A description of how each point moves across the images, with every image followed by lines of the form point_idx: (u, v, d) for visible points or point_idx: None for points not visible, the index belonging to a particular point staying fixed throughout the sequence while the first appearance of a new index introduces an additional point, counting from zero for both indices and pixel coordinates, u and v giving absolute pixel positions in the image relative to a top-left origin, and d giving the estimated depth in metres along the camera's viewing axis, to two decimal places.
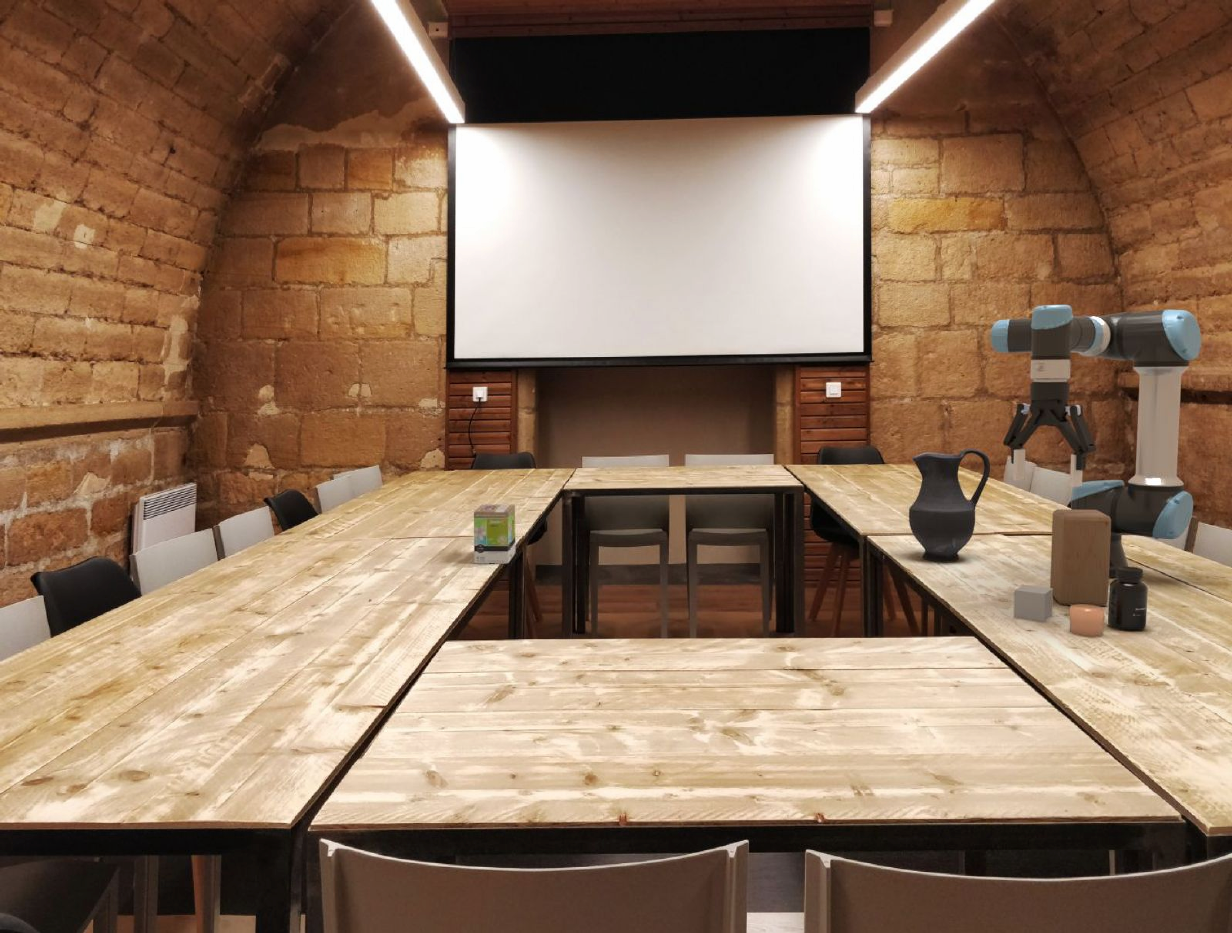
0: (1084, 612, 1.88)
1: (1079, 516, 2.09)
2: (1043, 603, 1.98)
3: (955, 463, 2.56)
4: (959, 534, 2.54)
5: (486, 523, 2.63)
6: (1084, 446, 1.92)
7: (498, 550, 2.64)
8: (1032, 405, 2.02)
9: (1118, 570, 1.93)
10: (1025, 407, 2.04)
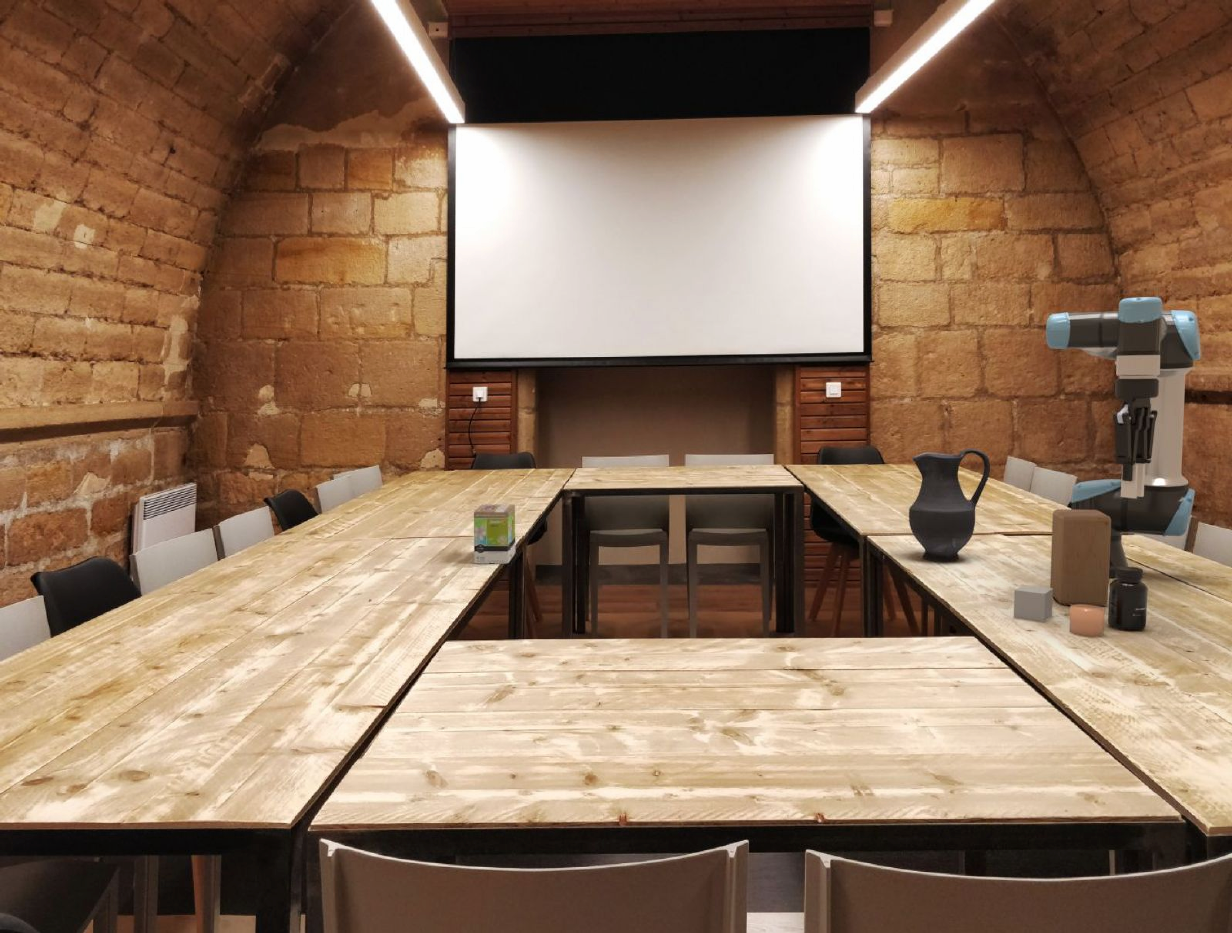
0: (1084, 612, 1.88)
1: (1079, 516, 2.09)
2: (1043, 603, 1.98)
3: (955, 463, 2.56)
4: (959, 534, 2.54)
5: (486, 523, 2.63)
6: None
7: (498, 550, 2.64)
8: None
9: (1118, 570, 1.93)
10: None
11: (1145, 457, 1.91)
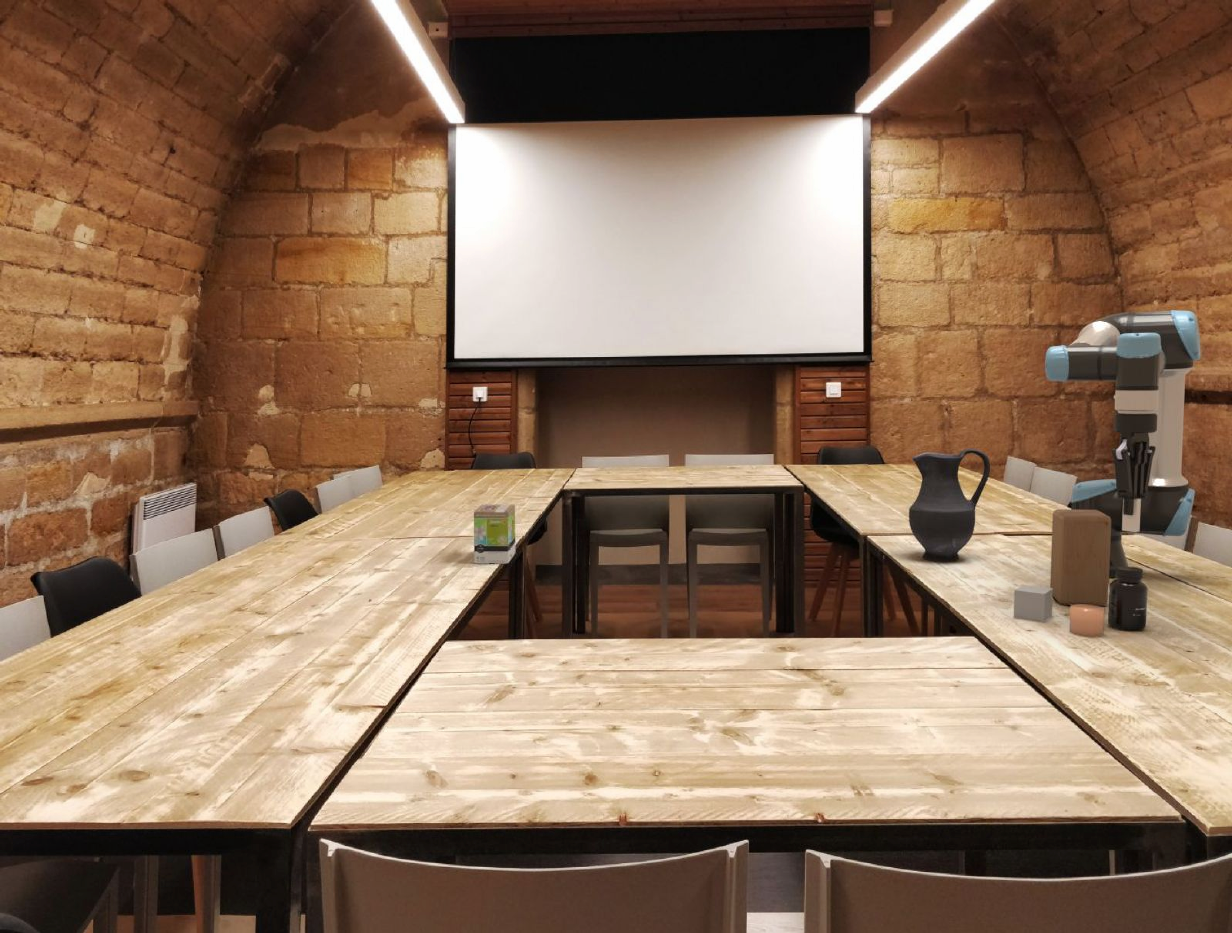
0: (1084, 612, 1.88)
1: (1079, 516, 2.09)
2: (1043, 603, 1.98)
3: (955, 463, 2.56)
4: (959, 534, 2.54)
5: (486, 523, 2.63)
6: None
7: (498, 550, 2.64)
8: None
9: (1118, 570, 1.93)
10: None
11: (1141, 492, 1.91)
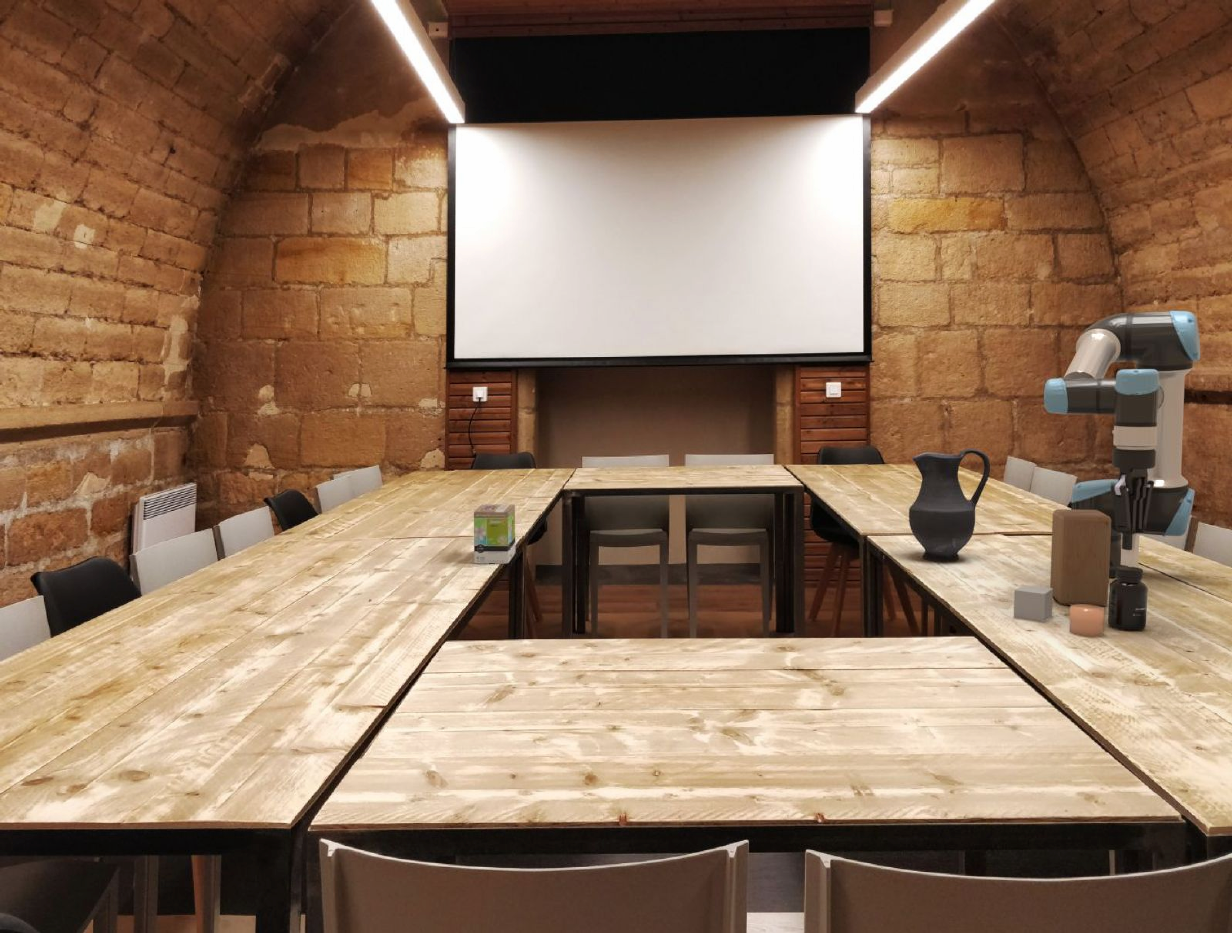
0: (1084, 612, 1.88)
1: (1079, 516, 2.09)
2: (1043, 603, 1.98)
3: (955, 463, 2.56)
4: (959, 534, 2.54)
5: (486, 523, 2.63)
6: None
7: (498, 550, 2.64)
8: None
9: (1118, 570, 1.93)
10: None
11: (1140, 527, 1.91)
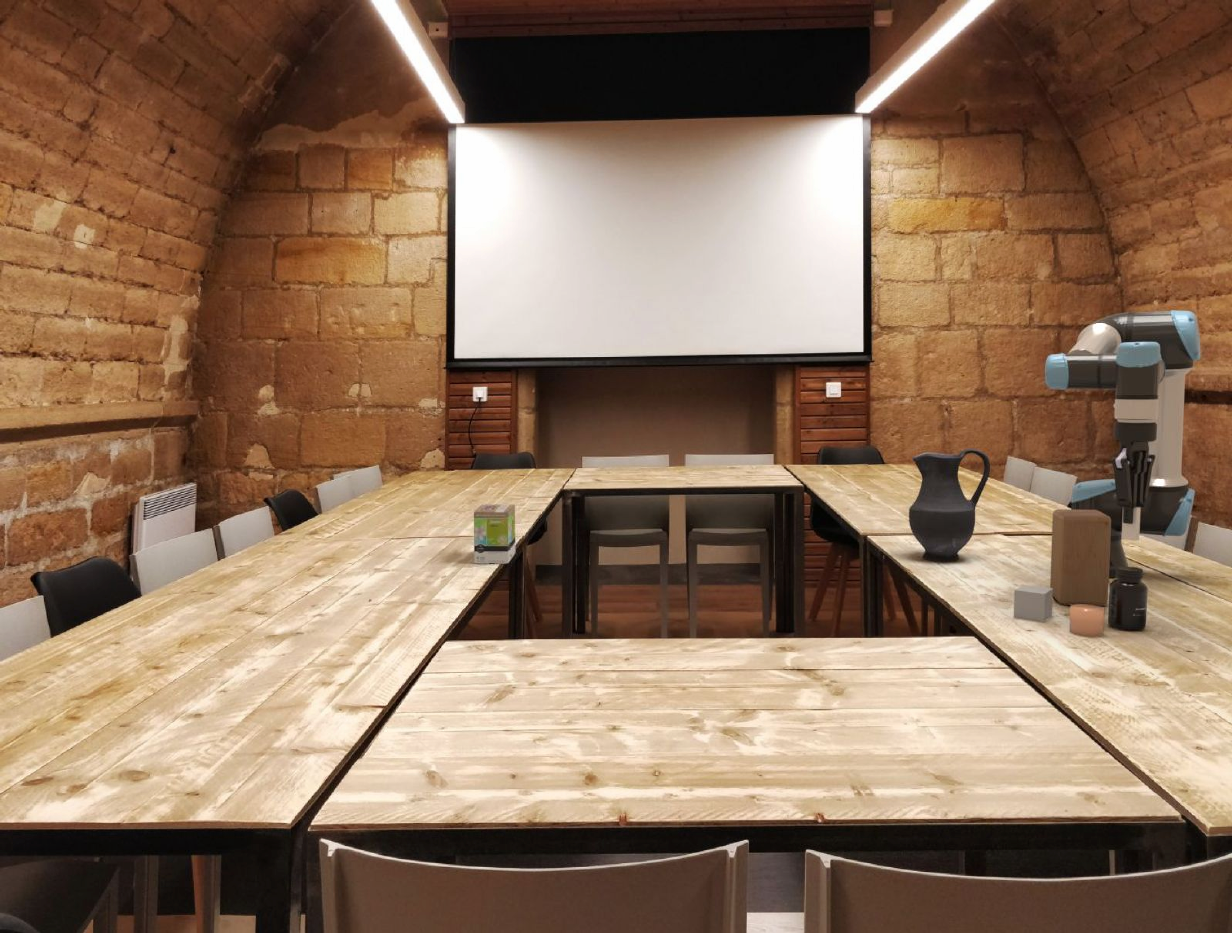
0: (1084, 612, 1.88)
1: (1079, 516, 2.09)
2: (1043, 603, 1.98)
3: (955, 463, 2.56)
4: (959, 534, 2.54)
5: (486, 523, 2.63)
6: None
7: (498, 550, 2.64)
8: None
9: (1118, 570, 1.93)
10: None
11: (1141, 500, 1.91)
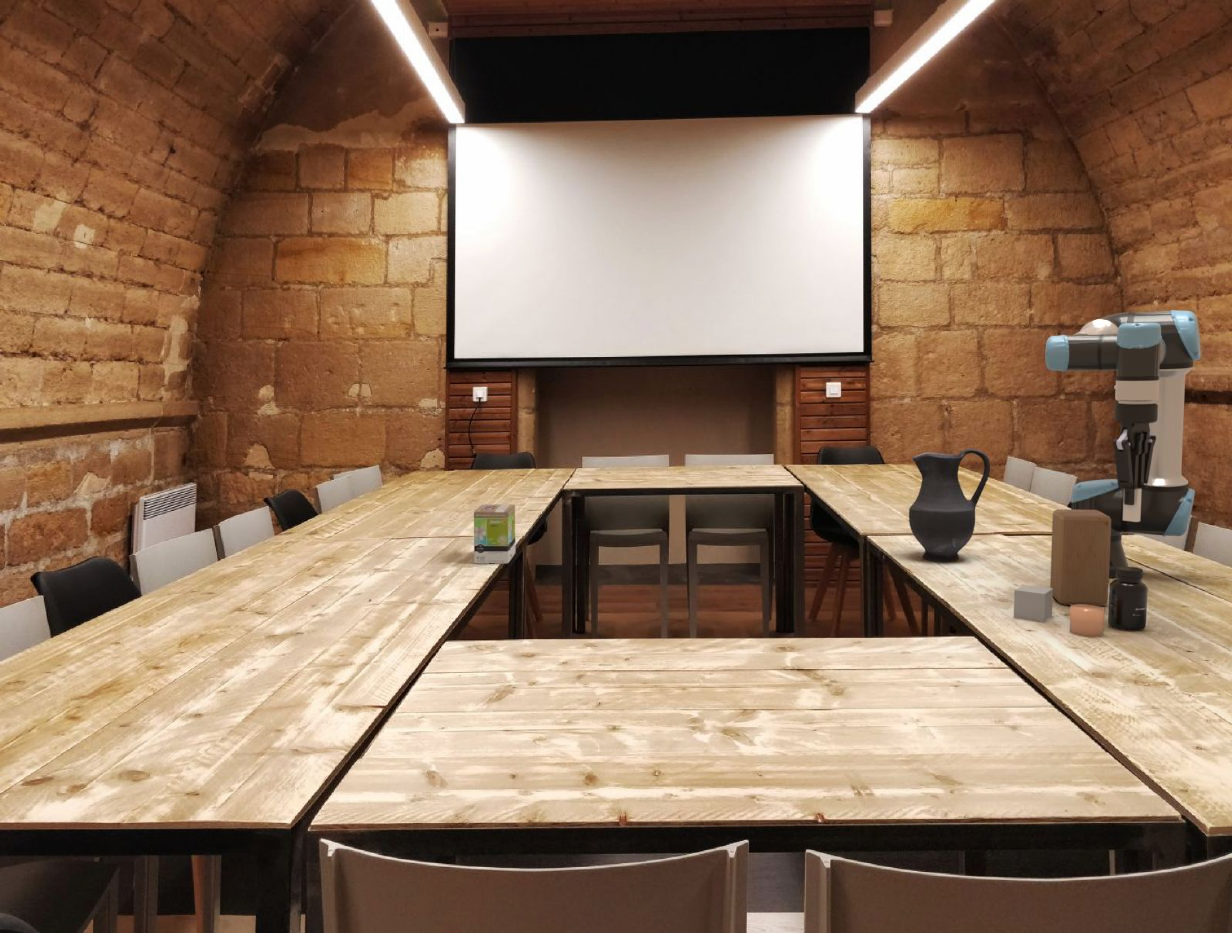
0: (1084, 612, 1.88)
1: (1079, 516, 2.09)
2: (1043, 603, 1.98)
3: (955, 463, 2.56)
4: (959, 534, 2.54)
5: (486, 523, 2.63)
6: None
7: (498, 550, 2.64)
8: None
9: (1118, 570, 1.93)
10: None
11: (1142, 482, 1.91)
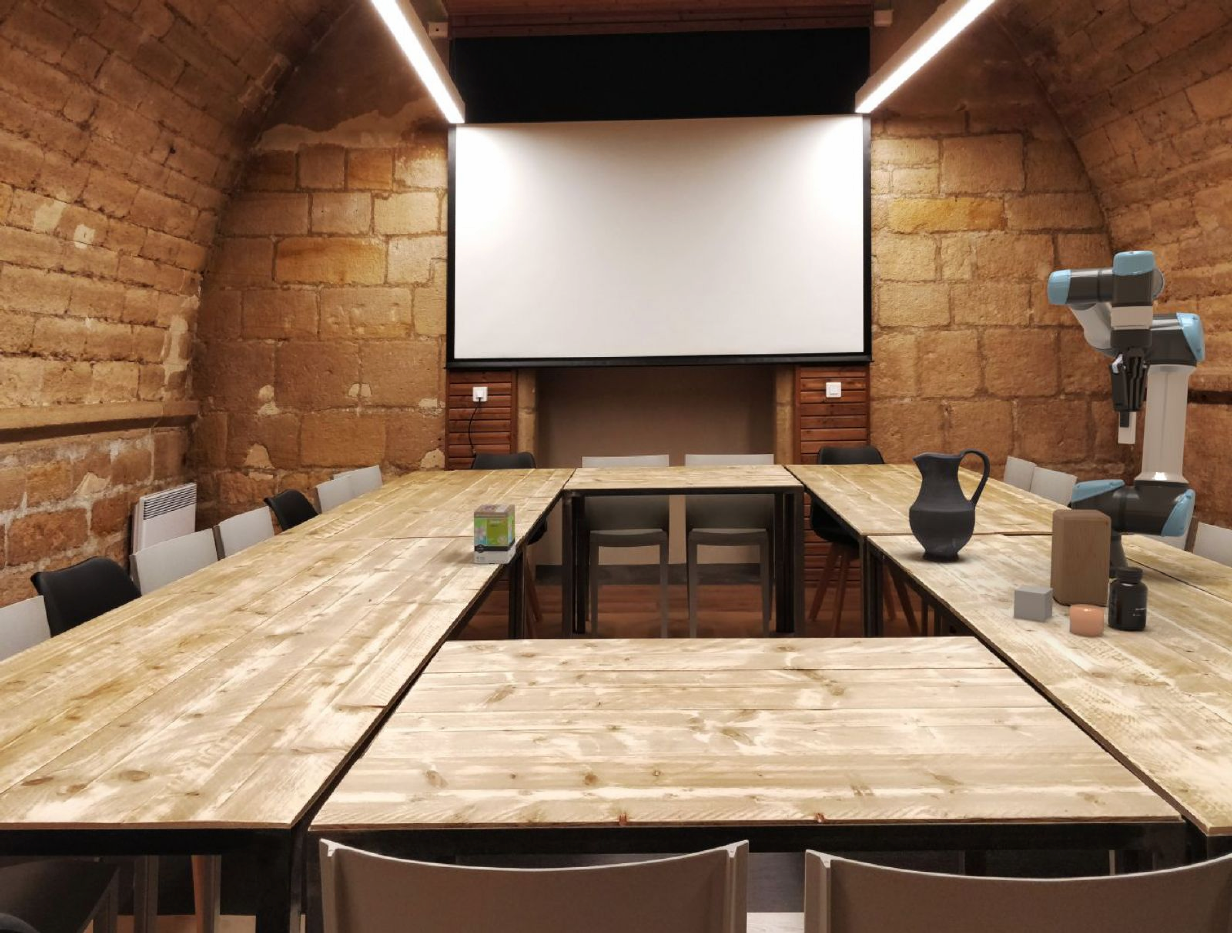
0: (1084, 612, 1.88)
1: (1079, 516, 2.09)
2: (1043, 603, 1.98)
3: (955, 463, 2.56)
4: (959, 534, 2.54)
5: (486, 523, 2.63)
6: None
7: (498, 550, 2.64)
8: None
9: (1118, 570, 1.93)
10: None
11: (1136, 405, 1.99)
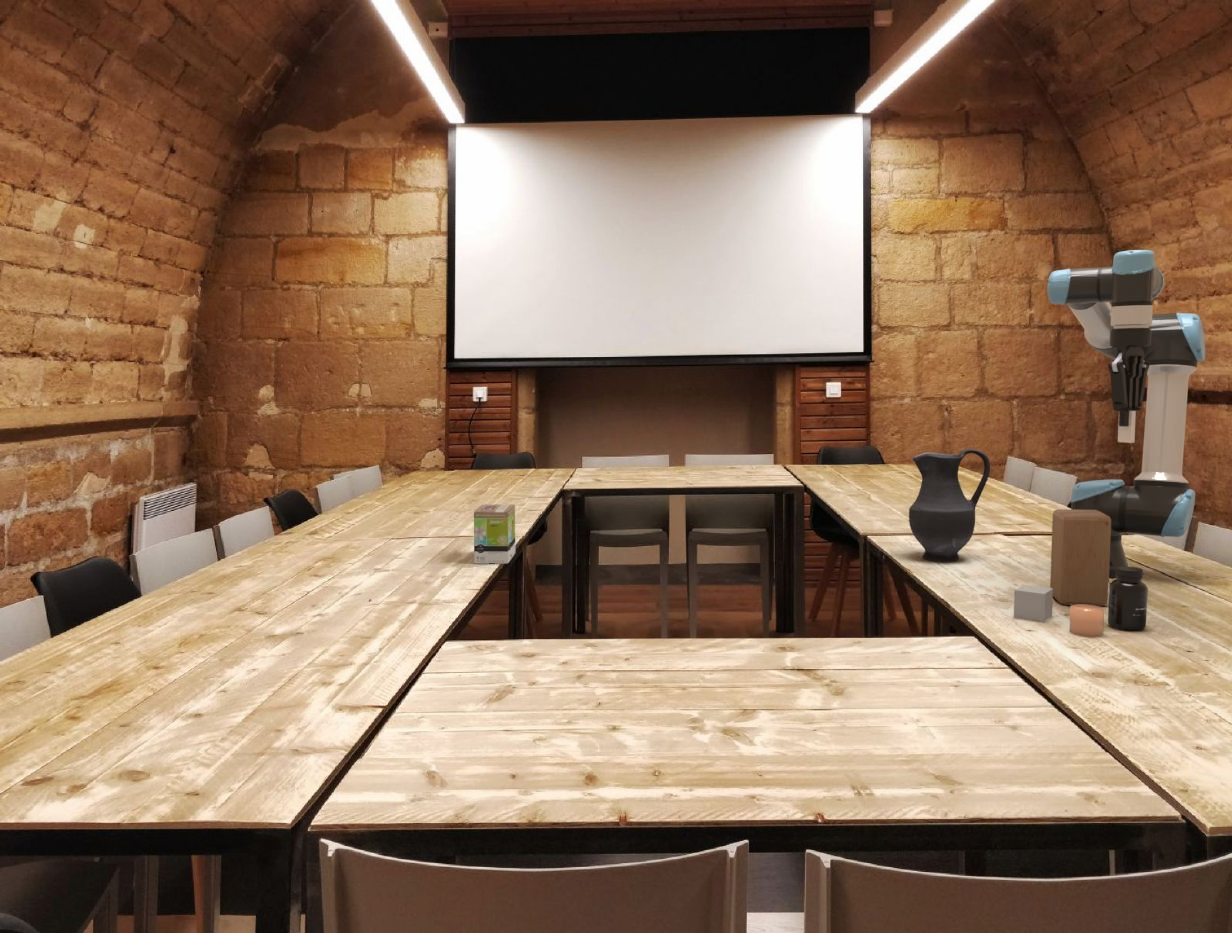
0: (1084, 612, 1.88)
1: (1079, 516, 2.09)
2: (1043, 603, 1.98)
3: (955, 463, 2.56)
4: (959, 534, 2.54)
5: (486, 523, 2.63)
6: None
7: (498, 550, 2.64)
8: None
9: (1118, 570, 1.93)
10: None
11: (1136, 404, 1.99)
